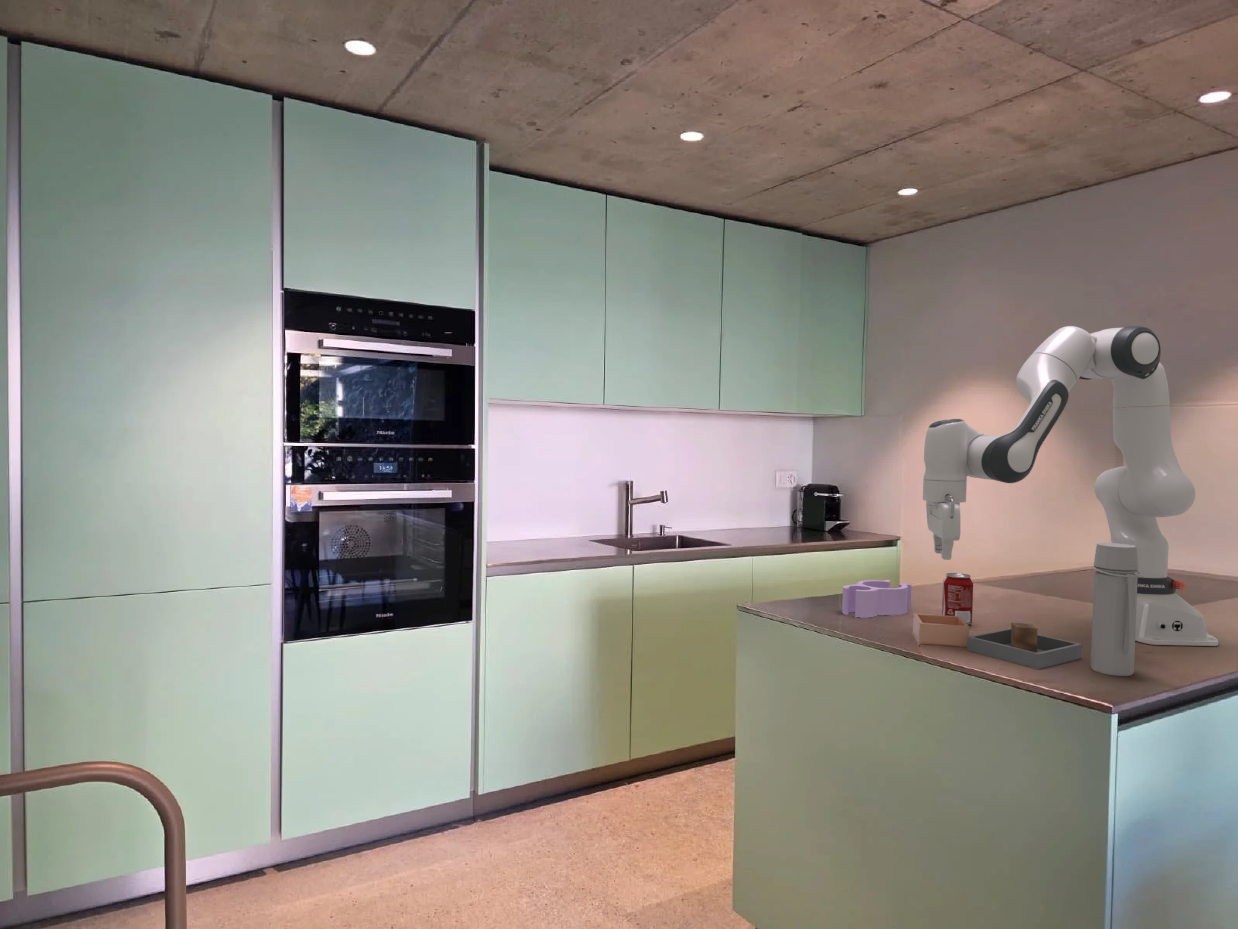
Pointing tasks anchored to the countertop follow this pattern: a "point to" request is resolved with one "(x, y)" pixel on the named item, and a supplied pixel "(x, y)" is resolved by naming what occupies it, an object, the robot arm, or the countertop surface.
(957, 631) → the peach open box
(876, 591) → the clip
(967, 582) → the soda can
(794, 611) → the countertop surface
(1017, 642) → the block
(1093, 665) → the water bottle
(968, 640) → the tray
